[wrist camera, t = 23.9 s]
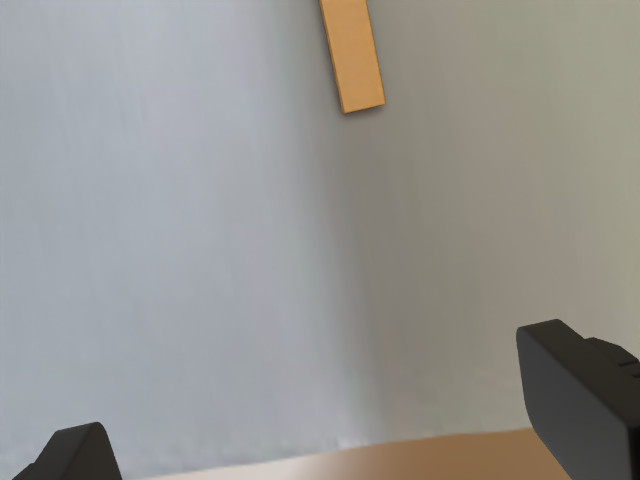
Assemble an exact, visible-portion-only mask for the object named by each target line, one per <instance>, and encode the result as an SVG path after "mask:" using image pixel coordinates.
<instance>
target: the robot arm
mask: <svg viewBox="0 0 640 480" xmlns="http://www.w3.org/2000/svg"><path fill="white" fill-rule="evenodd" d="M516 341H517V349H518V356H519V364H520V371H521V378H522V385H523V392H524V400H525V405H526V409H527V413H528V416H529V419H530V421H531V424H532V426H533V428H534V430H535V432H536V433H537V435H538V436H539V438H540V439H541V440H542V442H543V443H544V444H545V445H546V447H547V448H548V449H549V451H550V452H551V453H552V454H553V456H554V457H555V458H556V460H557V461H558V462H559V463H560V465H561V466H562V467H563V469H564V470H565V471H566V473H567V474H568V475H569V476H570V478H571V479H572V480H640V362H639V360H638V359H637V358H636V357H634V356H633V355H632V354H630V353H629V352H627V351H626V350H625V349H623V348H622V347H621V346H618V345H615V344H612V343H609V342H606V341H603V340H600V339H597V338H594V337H592V338H588V339H584V338H583V337H581V336H580V335H579V334H578V333H576V332H575V331H574V330H572V329H571V328H570V327H569V326H567V325H566V324H565V323H563V322H562V321H561V320H559V319H554V320H549V321H545V322H540V323H536V324H531V325H527V326H523V327H519V328H518V329H517V332H516ZM12 480H122V477H121V474H120V471H119V468H118V465H117V462H116V459H115V456H114V453H113V450H112V447H111V444H110V441H109V438H108V435H107V432H106V430H105V428H104V427H103V425H102V424H101V423H99V422H93V423H89V424H84V425H80V426H76V427H71V428H67V429H62V430H58V431H56V432H55V433H54V434H53V436H52V437H51V439H50V440H49V442H48V443H47V445H46V446H45V448H44V449H43V451H42V452H41V454H40V455H39V456H38V458H37V459H36V461H35V462H34V463H31V464H29V465H28V466H27V467H26V468H25V469H24V470H22V471H21V472H20V473H19V474H18V475H17V476H15V477H14V478H13V479H12Z"/></svg>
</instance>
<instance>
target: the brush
mask: <svg viewBox="0 0 640 480" xmlns="http://www.w3.org/2000/svg"><path fill="white" fill-rule="evenodd" d="M319 3H320V7H321V12H322V17H323V22H324V27H325V31H326V36H327V41H328V46H329V50H330V55H331V60H332V65H333V70H334V74H335V79H336V84H337V89H338V94H339V98H340V103H341V108H342V113H349V112H353V111H357V110H362V109H366V108H371V107H375V106H380V105H384V104H386V101H385V96H384V90H383V85H382V80H381V75H380V70H379V65H378V59H377V54H376V49H375V44H374V39H373V34H372V29H371V23H370V18H369V13H368V8H367V3H366V0H319Z"/></svg>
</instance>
